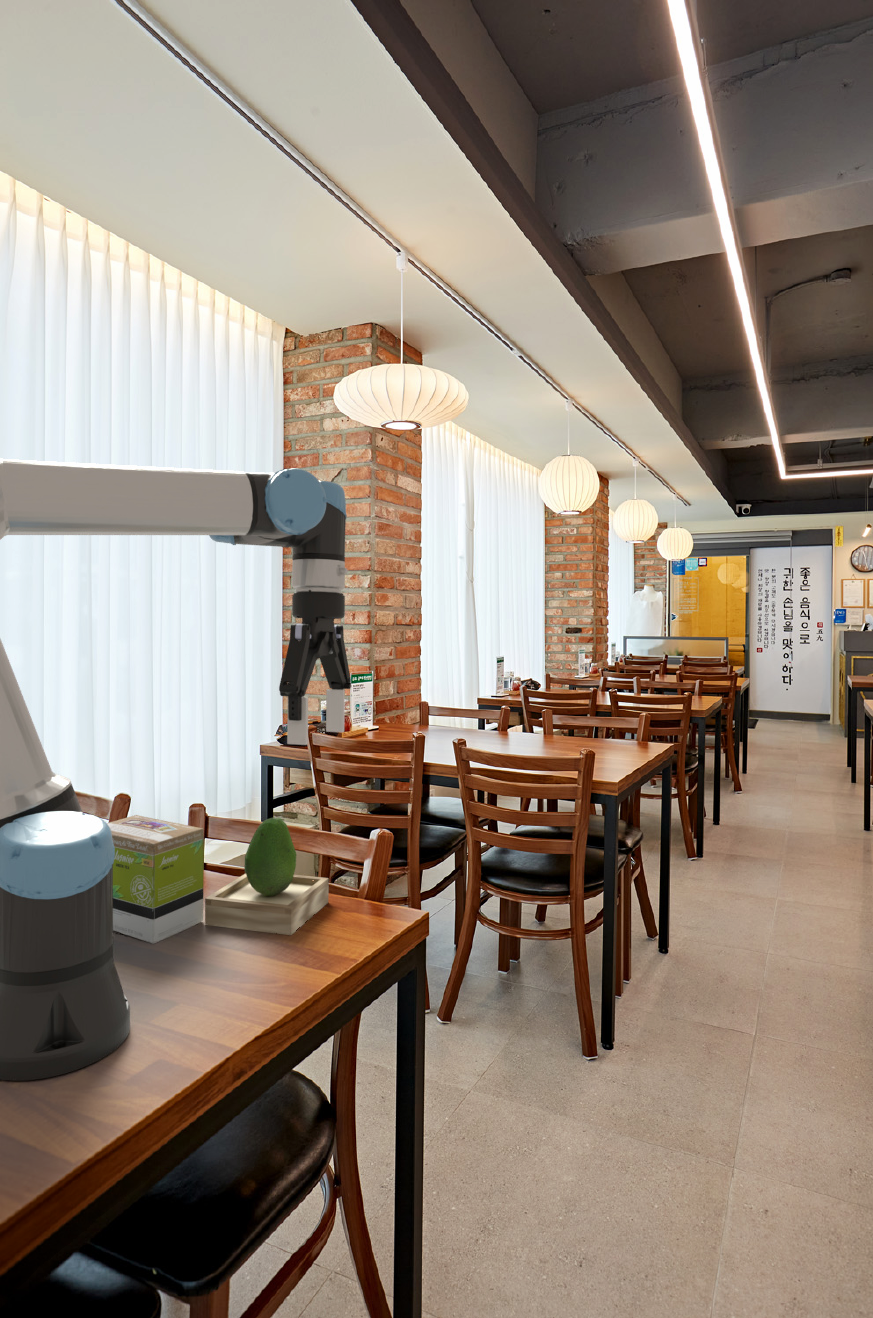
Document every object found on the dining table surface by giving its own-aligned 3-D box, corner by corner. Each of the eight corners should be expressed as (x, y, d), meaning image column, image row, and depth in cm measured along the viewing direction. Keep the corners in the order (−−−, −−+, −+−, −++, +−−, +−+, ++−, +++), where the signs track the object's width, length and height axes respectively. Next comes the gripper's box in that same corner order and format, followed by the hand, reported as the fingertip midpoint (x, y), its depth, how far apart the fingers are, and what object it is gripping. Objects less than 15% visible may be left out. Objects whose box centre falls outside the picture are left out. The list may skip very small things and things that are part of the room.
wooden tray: (291, 935, 110) (291, 907, 110) (205, 924, 114) (205, 898, 114) (328, 902, 124) (328, 878, 124) (250, 893, 127) (250, 870, 127)
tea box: (81, 925, 113) (81, 826, 113) (136, 904, 122) (136, 812, 122) (153, 945, 106) (153, 841, 106) (206, 922, 115) (206, 825, 114)
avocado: (302, 887, 122) (303, 813, 122) (286, 904, 114) (286, 825, 114) (255, 884, 123) (255, 810, 123) (235, 901, 115) (235, 822, 115)
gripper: (307, 585, 97) (305, 751, 97) (371, 595, 121) (370, 728, 122) (253, 585, 99) (252, 748, 99) (327, 595, 123) (326, 726, 123)
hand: (317, 737), depth 110 cm, fingers open, 13 cm apart
